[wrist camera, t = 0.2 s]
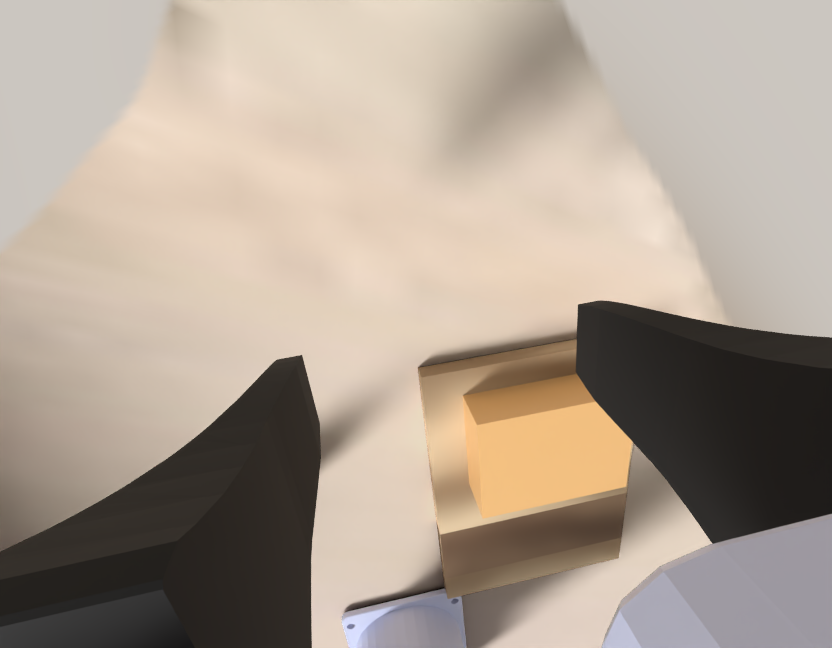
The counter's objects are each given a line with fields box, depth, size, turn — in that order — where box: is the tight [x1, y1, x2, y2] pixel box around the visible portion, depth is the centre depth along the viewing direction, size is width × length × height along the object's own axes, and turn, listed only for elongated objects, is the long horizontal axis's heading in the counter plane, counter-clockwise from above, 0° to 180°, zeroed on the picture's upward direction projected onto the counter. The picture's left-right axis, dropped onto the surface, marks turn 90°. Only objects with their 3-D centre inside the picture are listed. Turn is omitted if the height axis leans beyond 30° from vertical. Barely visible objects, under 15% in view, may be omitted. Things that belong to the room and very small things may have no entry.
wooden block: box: [463, 374, 632, 519], centre depth 23 cm, size 6×8×2 cm
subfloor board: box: [418, 339, 633, 599], centre depth 26 cm, size 17×12×1 cm
